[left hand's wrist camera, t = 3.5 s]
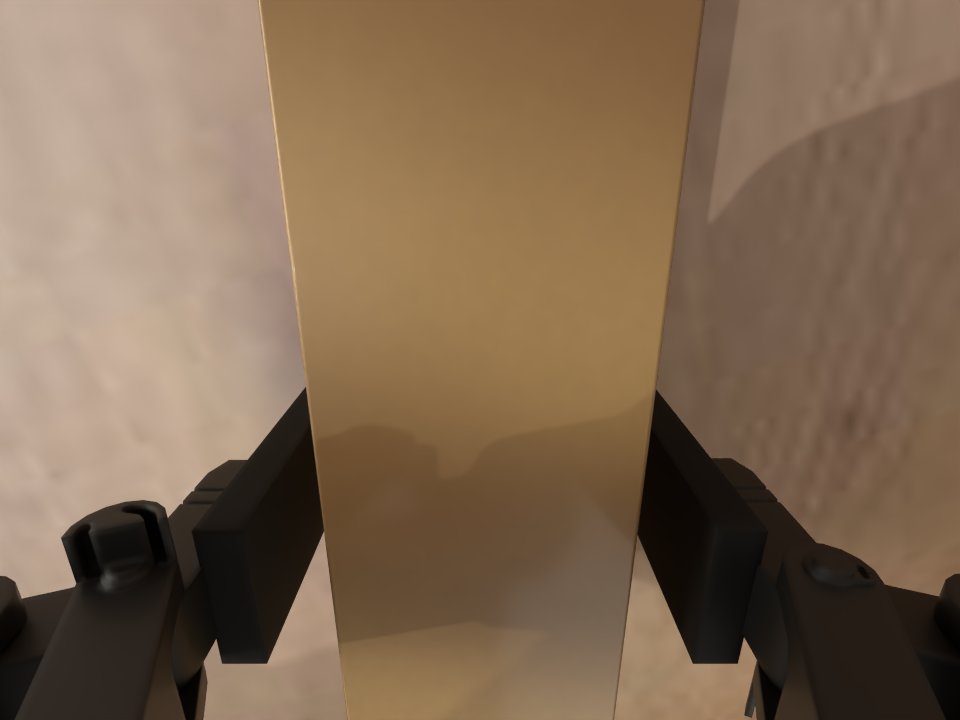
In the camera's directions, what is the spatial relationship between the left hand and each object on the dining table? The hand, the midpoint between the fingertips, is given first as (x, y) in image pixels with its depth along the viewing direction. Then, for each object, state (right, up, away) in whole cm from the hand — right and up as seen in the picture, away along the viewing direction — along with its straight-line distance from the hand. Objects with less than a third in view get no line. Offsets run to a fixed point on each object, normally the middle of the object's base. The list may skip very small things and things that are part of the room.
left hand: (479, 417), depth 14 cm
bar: (0, +31, -10) cm, 32 cm away
